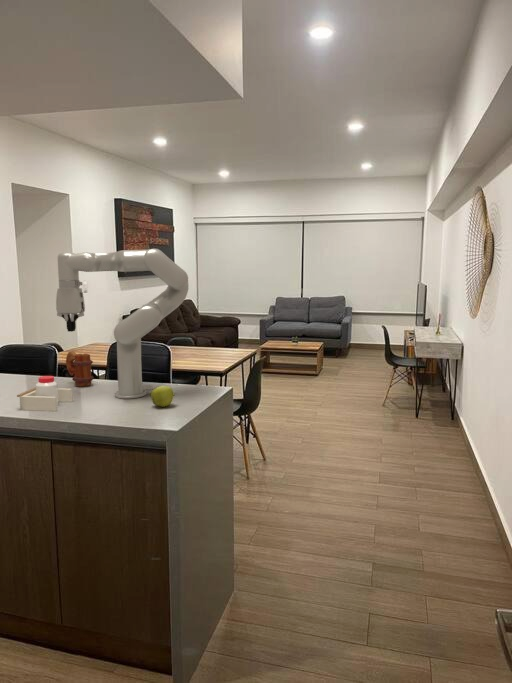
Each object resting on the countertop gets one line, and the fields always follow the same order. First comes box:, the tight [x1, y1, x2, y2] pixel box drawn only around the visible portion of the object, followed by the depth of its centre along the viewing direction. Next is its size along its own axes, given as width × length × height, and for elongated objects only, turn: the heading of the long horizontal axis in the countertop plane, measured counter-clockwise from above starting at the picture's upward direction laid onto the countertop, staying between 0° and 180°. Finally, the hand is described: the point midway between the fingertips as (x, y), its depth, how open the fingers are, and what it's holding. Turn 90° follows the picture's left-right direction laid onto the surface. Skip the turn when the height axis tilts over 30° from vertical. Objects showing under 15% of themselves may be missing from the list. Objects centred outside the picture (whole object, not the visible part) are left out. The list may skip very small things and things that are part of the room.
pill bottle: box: [35, 375, 59, 407], centre depth 192 cm, size 8×8×11 cm
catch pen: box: [16, 386, 74, 412], centre depth 193 cm, size 14×14×6 cm
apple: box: [150, 385, 176, 408], centre depth 191 cm, size 8×9×8 cm
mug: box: [65, 350, 95, 388], centre depth 227 cm, size 15×8×15 cm, turn 58°
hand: (71, 331), depth 202 cm, fingers closed
